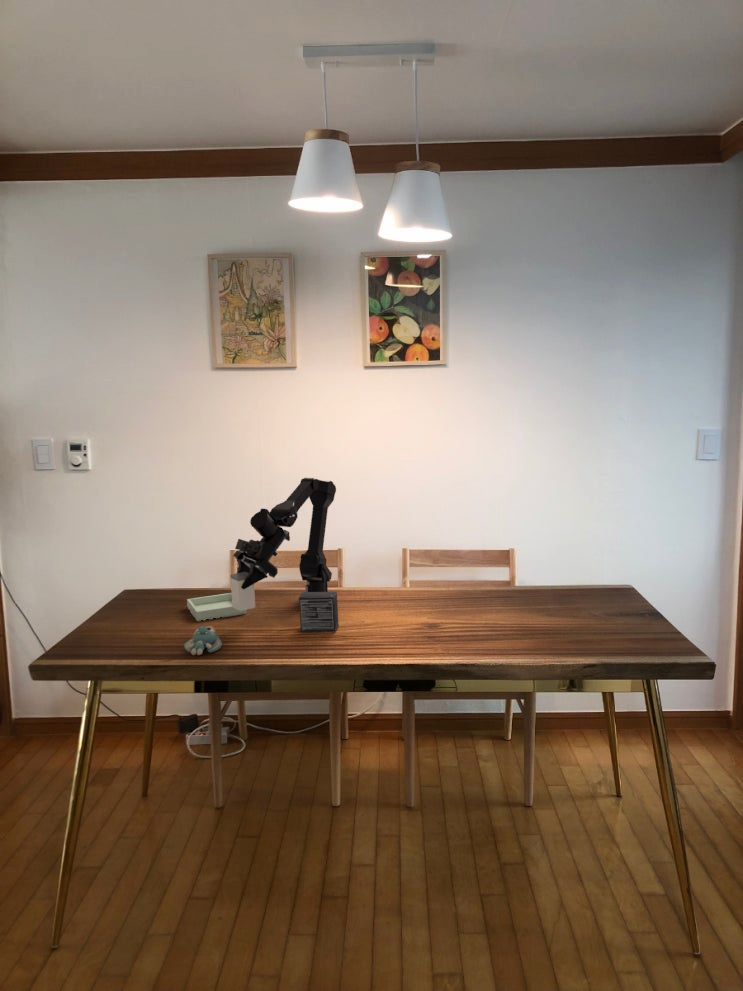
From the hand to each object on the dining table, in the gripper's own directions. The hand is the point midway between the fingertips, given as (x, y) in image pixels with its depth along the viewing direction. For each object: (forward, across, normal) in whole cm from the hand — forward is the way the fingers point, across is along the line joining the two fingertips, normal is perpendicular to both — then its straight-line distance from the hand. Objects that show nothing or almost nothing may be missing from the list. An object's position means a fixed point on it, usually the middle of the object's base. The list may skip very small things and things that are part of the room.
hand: (238, 586), depth 236 cm
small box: (-3, +17, +21) cm, 27 cm away
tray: (+8, -20, +10) cm, 24 cm away
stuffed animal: (+21, +11, -3) cm, 24 cm away
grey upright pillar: (+4, 0, +6) cm, 7 cm away
